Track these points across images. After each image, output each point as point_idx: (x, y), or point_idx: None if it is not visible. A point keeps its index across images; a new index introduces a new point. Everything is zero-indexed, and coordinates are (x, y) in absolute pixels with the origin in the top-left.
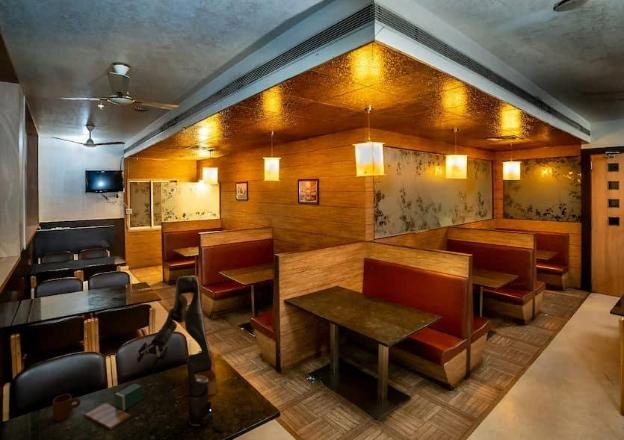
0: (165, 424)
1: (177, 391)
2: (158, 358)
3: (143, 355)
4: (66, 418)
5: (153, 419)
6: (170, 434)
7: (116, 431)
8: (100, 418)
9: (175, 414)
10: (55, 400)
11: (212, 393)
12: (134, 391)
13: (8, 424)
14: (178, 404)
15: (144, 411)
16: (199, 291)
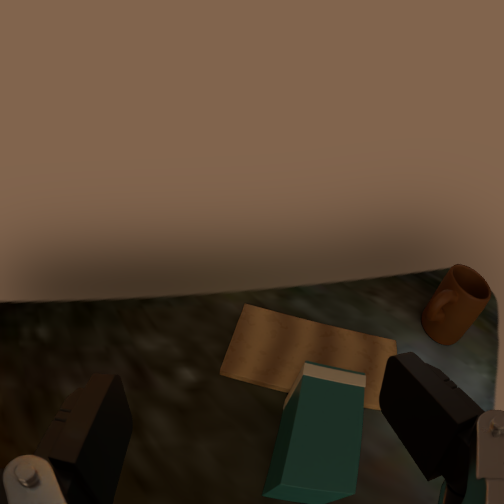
0: (53, 341)
1: None
2: (36, 450)
3: (445, 485)
4: (421, 319)
5: (108, 367)
6: (30, 301)
7: (216, 303)
8: (325, 334)
9: (31, 395)
10: (479, 286)
11: None
12: (289, 436)
13: None
14: None
15: (179, 414)
16: None
